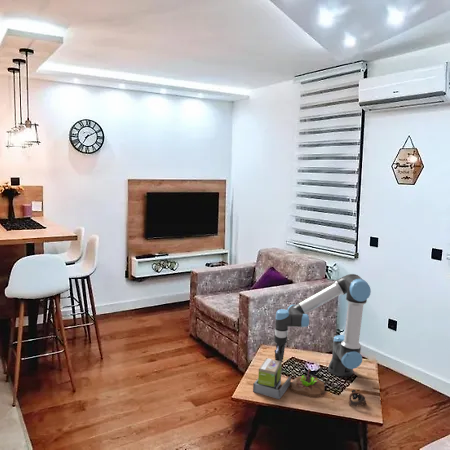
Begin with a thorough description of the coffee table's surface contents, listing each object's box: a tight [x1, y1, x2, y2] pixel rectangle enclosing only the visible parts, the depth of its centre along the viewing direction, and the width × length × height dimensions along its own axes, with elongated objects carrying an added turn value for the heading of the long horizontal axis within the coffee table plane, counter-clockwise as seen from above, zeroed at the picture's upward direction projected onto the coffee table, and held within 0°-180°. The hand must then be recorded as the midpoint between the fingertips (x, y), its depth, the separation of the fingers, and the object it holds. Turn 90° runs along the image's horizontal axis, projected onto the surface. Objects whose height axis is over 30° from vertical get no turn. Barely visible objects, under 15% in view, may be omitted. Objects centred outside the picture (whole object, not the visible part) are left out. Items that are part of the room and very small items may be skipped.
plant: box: [289, 368, 326, 398], centre depth 268 cm, size 20×20×11 cm
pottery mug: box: [348, 389, 367, 407], centre depth 253 cm, size 12×10×8 cm
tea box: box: [257, 357, 283, 390], centre depth 265 cm, size 15×10×15 cm
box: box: [252, 375, 292, 400], centre depth 266 cm, size 16×19×5 cm
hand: (278, 372), depth 276 cm, fingers closed
